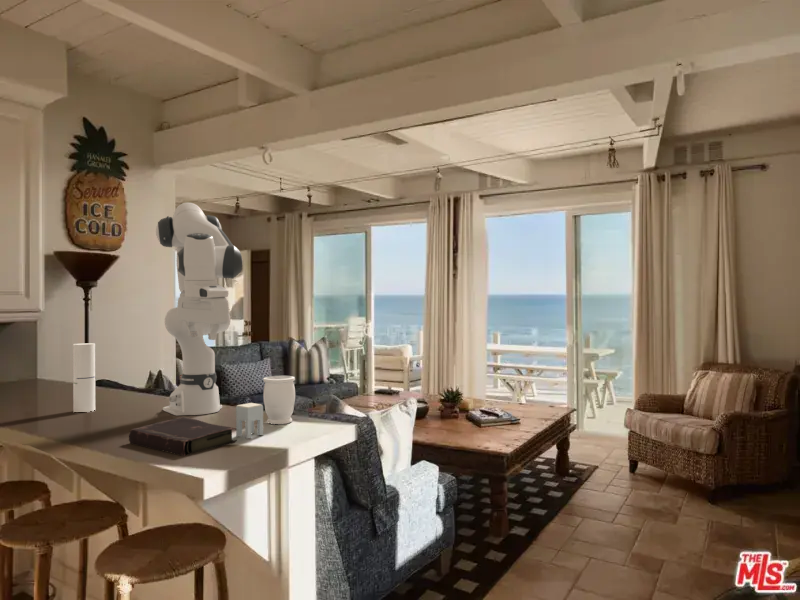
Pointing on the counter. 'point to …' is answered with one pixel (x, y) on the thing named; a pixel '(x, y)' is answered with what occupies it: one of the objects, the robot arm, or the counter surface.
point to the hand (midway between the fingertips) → (202, 338)
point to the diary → (182, 436)
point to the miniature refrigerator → (84, 377)
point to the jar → (279, 398)
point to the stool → (249, 418)
